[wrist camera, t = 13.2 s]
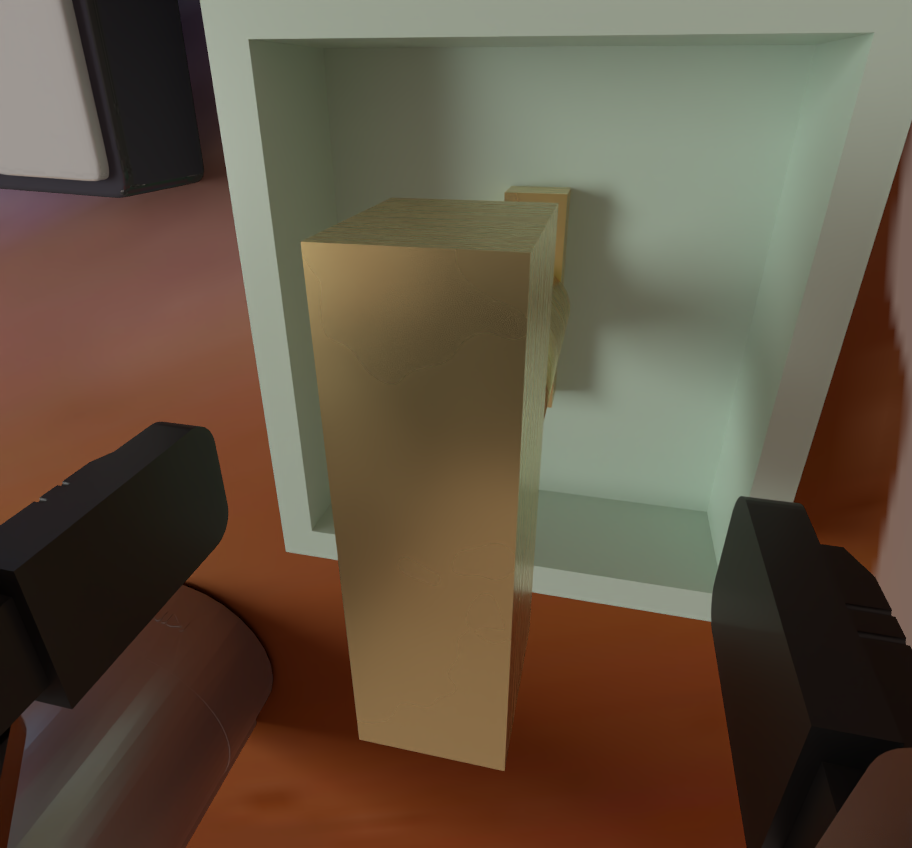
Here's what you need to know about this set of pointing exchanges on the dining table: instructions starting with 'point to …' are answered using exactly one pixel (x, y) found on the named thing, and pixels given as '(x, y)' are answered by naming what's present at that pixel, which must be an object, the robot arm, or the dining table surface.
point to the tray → (588, 233)
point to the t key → (438, 451)
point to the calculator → (95, 98)
